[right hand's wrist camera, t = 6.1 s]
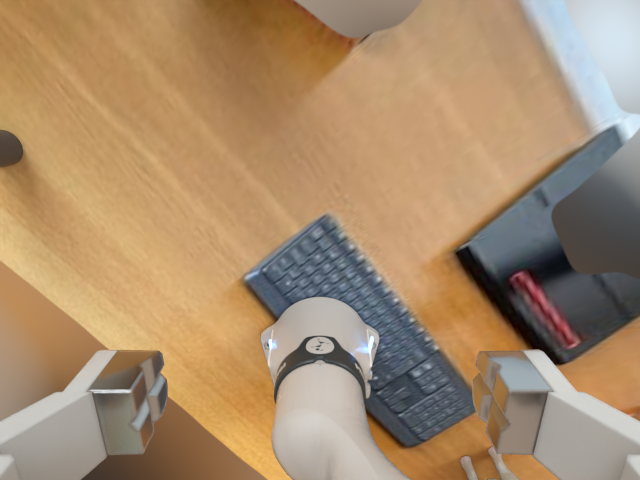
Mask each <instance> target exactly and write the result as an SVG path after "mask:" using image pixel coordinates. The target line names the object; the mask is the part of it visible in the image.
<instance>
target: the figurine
mask: <svg viewBox="0 0 640 480" xmlns="http://www.w3.org/2000/svg"><path fill="white" fill-rule="evenodd" d="M488 453H489V454H490V456H491V457H492V459H493V461H494V464H495V467H496V469H497V471H498V473H499V475H500V478H501V480H519V479H518V478H517V477H516V476H515V474H514V473H513V472H511V471H510V470H509V469H508V468H507V467H506V466H505V464H504V462H503V459H502V454H496V452H495V450H494V447H491V448H490V449H489V450H488ZM460 463H461V465H462V467H463V469H464V470H465V472H466V473H467V477H468V480H479V479H478V477H477V475H476V473H475V470H474V468H473V465H472V461H471V458H470V457H468V456H464V457H462V458H461V460H460ZM487 480H498V479H495V478H489V479H487Z"/></svg>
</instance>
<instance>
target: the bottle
mask: <svg viewBox="0 0 640 480" xmlns="http://www.w3.org/2000/svg"><path fill="white" fill-rule="evenodd" d="M22 154H23V149H22V145H21V143H20V141H19V140H18V139H17V137H16V136H14V135H13V134H12V133H10V132H8V131H5V130H0V168H1V167H4V166H8V165H12V164H15V163H17V162H18V161H19V160H20V159H21V157H22Z"/></svg>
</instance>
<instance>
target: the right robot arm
mask: <svg viewBox="0 0 640 480" xmlns="http://www.w3.org/2000/svg"><path fill="white" fill-rule="evenodd" d="M261 343H262V347H263V350H264V353H265V357H266V360H267V364H268V367H269V371H270V374H271V377H272V381H273V384H274V400H275V404H276V406H275V414H274V421H273V429H272V436H271V441H272V448H273V451H274V454H275V456H276V459H277V460H278V462H279V464H280V465H281V467H282V468H283V469H284V471H285V472H286V473H287V475H288V476H289V477H290V478H292V479H293V480H411V479H410V478H409V477H407V476H406V475H405V474H404V473H402V472H401V471H400V470H399V469H398V468H397V467H396V466H395V465H394V464H393V463H392V462H391V461H390V460H389V459H388V458H387V457H386V456H385V455H384V454H383V452H382V451H381V450H380V449H379V447H378V446H377V444H376V443H375V441H374V439H373V437H372V435H371V432H370V428H369V424H368V420H367V416H366V411H365V406H364V404H365V400H366V398H369V396H370V384H369V383H367V381H368V380H371V379H372V371H371V367H372V364H373V360H374V357H375V353H376V350H377V347H378V343H379V333H378V332H377V331H376V330H375V329H373V328H372V327H370V326H368V325H367V324H365V323H364V322H363V321H362V319H361V318H360V317H359V315H358V314H357V313H356V312H355V310H353V309H352V308H351V307H350V306H348V305H347V304H345V303H343V302H341V301H339V300H336V299H333V298H328V297H312V298H307V299H304V300H301V301H299V302H297V303H295V304H293V305H292V306H290V307H289V308H288V309H287V310H286V311H285V312H284V313H283V314H282V315H281V317H280V318H279V319H278V321H277V322H276V323H275V324H273V325H272V326H270V327H268V328H267V329H265V330H264V331H263V332H262V333H261ZM268 343H269V344H268ZM163 366H164V361H163V356H162V353H161V352H160V351H147V350H100V351H97V352H96V353H95V354H94V355H93V357H92V358H91V359H90V360H89V361H88V363H87V364H86V365H85V366H84V367H83V369H82V370H81V371H80V372H79V373H78V374H77V376H76V377H75V378H74V379H73V380H72V381H71V383H70V384H69V385H68V386H67V388H66V389H65V390H64V391H63V392H55V393H53V394H52V395H50V396H48V397H46V398H44V399H42V400H40V401H38V402H36V403H34V404H32V405H31V406H29V407H27V408H25V409H23V410H21V411H19V412H17V413H15V414H13V415H11V416H9V417H8V418H6V419H4V420H2V421H0V480H81V479H82V478H83V477H84V476H85V475H87V474H88V473H89V472H90V471H91V470H92V469H94V468H95V467H96V466H97V465H98V464H99V463H101V462H102V461H103V460H104V459H105V458H106V457H107V455H124V454H144V452H145V450H146V448H147V445H148V443H149V441H150V439H151V437H152V435H153V433H154V427H153V423H154V422H155V421H157V420H158V419H160V418H161V416H162V414H163V412H164V410H165V407H166V402H167V397H168V385H167V379H166V378H165V377H164V376H163V375H162V374H161V373H160V372H161V370H162V368H163ZM476 366H477V368H478V370H479V372H480V373H479V374H478V375H477V376H476V377H475V378H474V379H473V387H472V395H473V403H474V406H475V410H476V412H477V414H478V416H479V418H480V419H482V420H483V421H485V422H486V423H487V427H486V433H487V435H488V437H489V439H490V441H491V443H492V445H493V447H494V450H495V452H496V454H516V455H533V457H534V458H535V459H536V460H537V461H539V462H540V463H541V464H542V465H543V466H544V467H545V468H547V469H548V470H549V471H550V472H551V473H552V474H554V475H555V476H556V477H557V478H558V479H559V480H640V421H638V420H636V419H634V418H632V417H630V416H629V415H627V414H625V413H623V412H621V411H619V410H617V409H615V408H613V407H611V406H609V405H608V404H606V403H604V402H602V401H600V400H598V399H596V398H594V397H592V396H590V395H588V394H586V393H585V392H577V391H576V390H575V389H574V387H573V386H572V385H571V384H570V383H569V382H568V380H567V379H566V378H565V377H564V376H563V374H562V373H561V372H560V371H559V370H558V369H557V367H556V366H555V365H554V364H553V363H552V361H551V360H550V359H549V358H548V357H547V356H546V354H545V353H544V352H543V351H540V350H519V351H480V352H479V354H478V356H477V360H476Z"/></svg>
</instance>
